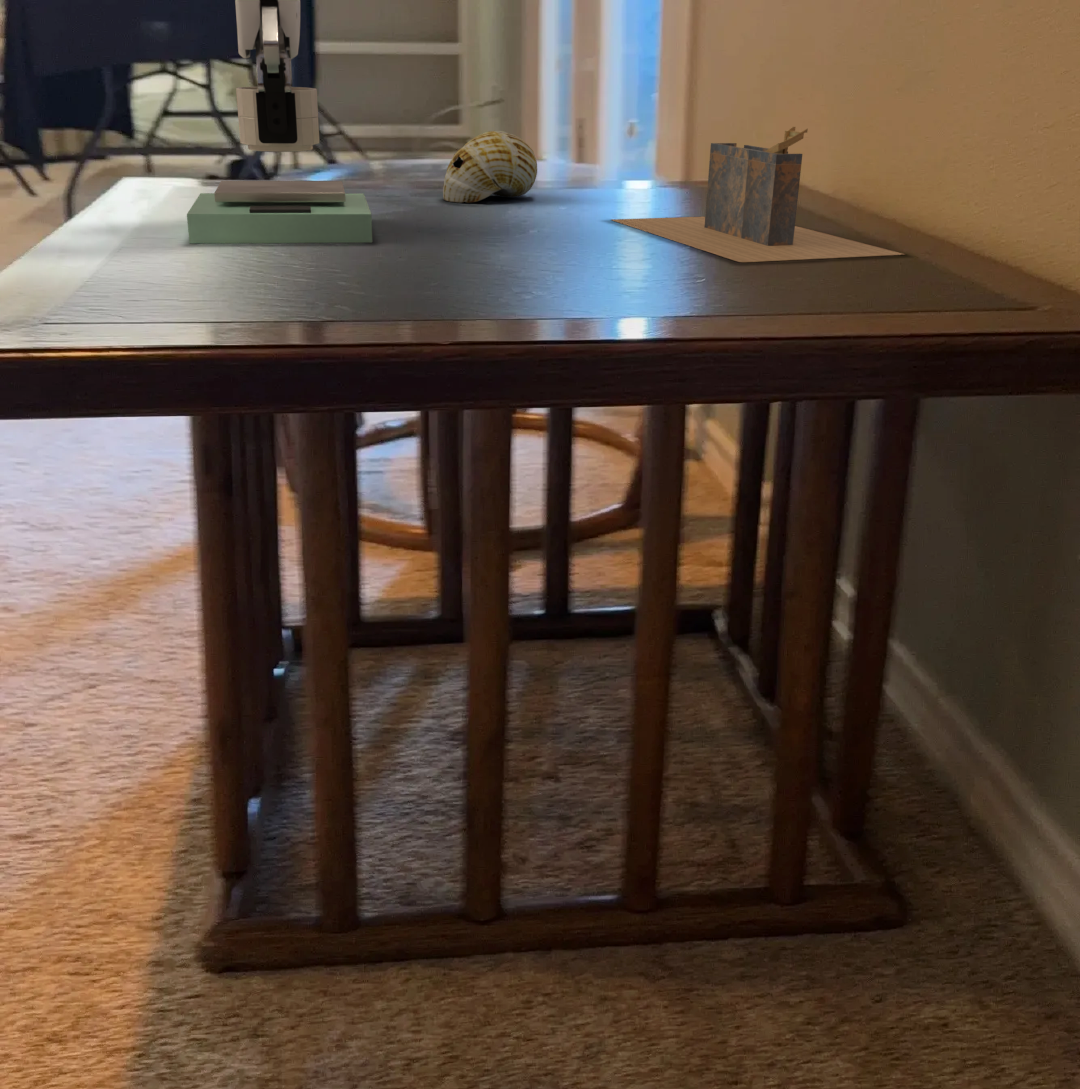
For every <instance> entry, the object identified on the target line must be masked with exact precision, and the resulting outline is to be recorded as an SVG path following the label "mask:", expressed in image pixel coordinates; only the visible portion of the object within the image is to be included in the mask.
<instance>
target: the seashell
mask: <svg viewBox="0 0 1080 1089" xmlns="http://www.w3.org/2000/svg"><path fill="white" fill-rule="evenodd" d="M537 175H538V162H537V158H536V155H535V152H534V150H533V149H532V147H531V146H530V145H529V144H528V143H527V142H526V141H525V140H524V139H522V138H520V137H519V136H517V135H515V134H513V133H510V132H506V130H493V131H491V130H489V131H486V132H483V133H480V134H479V135H476V136H474V137H473V138H471V139H470V140H468V142H466V143H465V144H464V146H463V147H461V148H459V149H458V150H457V151H456V152H455V153H454V154H453V156H452V158H451V159H450V161H449V164H448V165H447V168H446V172H445V174H444V179H443V180H444V182H443V184H442V197H443V200H444V201H446V202H451V203H460V204H461V203H464V202H465V203H477V202H481V201H482V200H485V199H486V198H488V197H490V196H491V195H493V196H497V197H502V198H516V197H522V196H524V195H526V194H527V193H528V192H529V191H530V190H531V189H532V188H533V186H534V184H535V181H536V179H537Z"/></svg>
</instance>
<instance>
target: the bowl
mask: <svg viewBox="0 0 1080 1089" xmlns="http://www.w3.org/2000/svg"><path fill="white" fill-rule="evenodd" d="M291 89H292V93H295V104H296V121H297V142H296V143H293V144H291V143H261V142H260V140H259V133H258V119H257V105H256V92H257V93H258V86H239V87H236V88H235V91H236V92H235V93H236V104H237V105H236V106H237V116H238V117H237V118H238V132H239V133H238V134H239V144H242V145H246V146H247V149H248V150H250V151H254V152H269V153H295V152H297V153H298V152H307V151H312V150H313V149H314V146H315V145H319V144H320V126H319V106H318V104H319V103H318V89H317V88H315V87H305V86H304V87H302V86H293V87H291Z"/></svg>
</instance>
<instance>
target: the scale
mask: <svg viewBox="0 0 1080 1089" xmlns="http://www.w3.org/2000/svg"><path fill="white" fill-rule="evenodd" d="M214 193H215V192H207V193H206V192H200V193H199V194H198V196H197V198H196V199H195V200H194V203H193V204H192V206H191V207H190V209H189V210H188V212H187V213H186V220H187V221H186V222H187V223H186V224H187V232H188V243H189V245H191V244H192V245H197V244H200V245H201V244H204V245H205V244H206V245H208V244H209V245H210V244H212V245H213V244H223V245H224V244H371V243H372V244H373V220H372V218H373V217H372V216H373V215H372V212H371V210H370V207H369V204H368V201H367V198H366V196H365V193H345V202H215V195H214Z"/></svg>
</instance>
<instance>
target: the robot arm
mask: <svg viewBox="0 0 1080 1089" xmlns="http://www.w3.org/2000/svg"><path fill="white" fill-rule="evenodd" d="M234 4H235V16H236V17H235V18H236V34H237V49H238V52H237V53H238V54H239V56H240V57H242V58H243V59H250V58H251V50H255V63H256V79H257V80H256V82H257V87H258V93H257V92H256V105H257V119H258V133H259V140H260V142H261V143H291V144H293V143H296V142H297V121H296V104H295V93H292V89H291V87H294V86H293V73H292V71H293V70H292V60H293V59H294V58H296V57H297V56H298V55H299V48H300V38H301V37H300V36H301V0H234Z"/></svg>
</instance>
